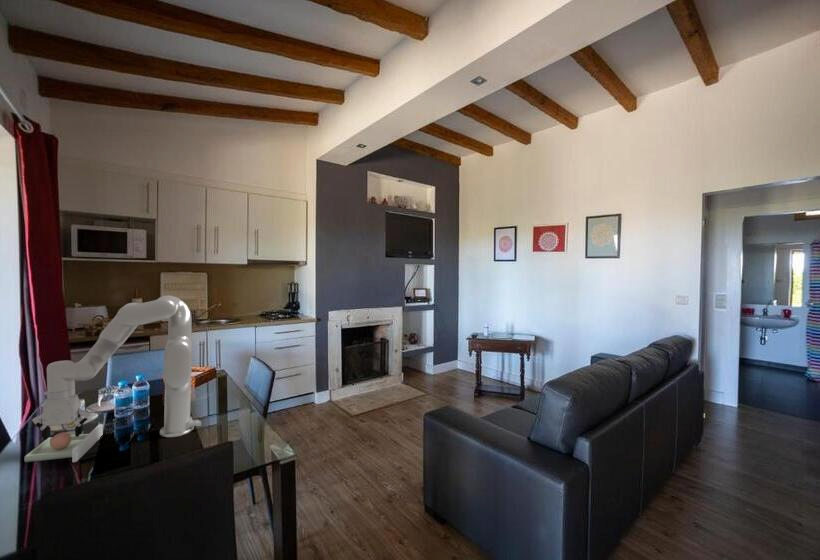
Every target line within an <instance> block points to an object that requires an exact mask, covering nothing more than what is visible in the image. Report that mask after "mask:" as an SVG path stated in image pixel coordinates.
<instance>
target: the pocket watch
mask: <svg viewBox="0 0 820 560" xmlns="http://www.w3.org/2000/svg"><path fill="white" fill-rule="evenodd" d="M80 418H81V419H82V420H83V419H84V417H83V416H81V417H80ZM60 426H61V428H62V429H63V430H64V431H65V432H66V433H69V434H70V435H75V427H76V426H77V425H75V424H74V423H71V424H63V425H60ZM82 434H84V430H83V432H82V433H81V434H80V435H82Z"/></svg>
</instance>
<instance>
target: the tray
mask: <svg viewBox="0 0 820 560" xmlns="http://www.w3.org/2000/svg"><path fill="white" fill-rule="evenodd" d="M88 434H89V433H83V434H82V435H79V436H78V437H76V436H75V435H71V437H72V440H71V442H70V444H69V445H68V446H66V447H65V448H62V449H54V448H52V447H51V446H50V441H51V439H52V437H53V436H52V437H51V436H50V437H49V438H48V439H47V440H43V441H42V442H41V443H40V444H39V445H37V446H36V447H35V448H33V449H32V450H30V452H28V453H27V454H25V456H24V463H30V462H40V461H49V460H57V459H66V458H67V459H69V458H72V449H73V448H74V447H75V446H76V445H77V444H78V443H79V442H81V441H82V440H83V439H84V438H85V437H86V436H87V435H88Z"/></svg>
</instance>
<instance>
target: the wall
mask: <svg viewBox="0 0 820 560" xmlns="http://www.w3.org/2000/svg"><path fill="white" fill-rule="evenodd" d="M103 427H104V425H103V423H99V424H97V426H96V427H94V429H92V430H91V431H90V432H89V433H87V434H88V435H87V436H86V437H85V438H84V439H83V440H82V441H81V442H79V443H78V444H77V445H76V446H75V447H74V448H73V449H72V457H71V458H72V459H71V461H72V463H77V462H78V461H79V460H80V459H81V458H82V457H83V456H84V455H86V453H87V452H88V451H89V450H90V449H91V448H92V447H93V446H94V445H95V444H96V443H97V442H98V441H99V440H100V439H101V438H102V437H103V436H104V435H103V434H104V433H103V432H104V429H103ZM102 435H103V436H102ZM101 436H102V437H101ZM100 437H101V438H100Z"/></svg>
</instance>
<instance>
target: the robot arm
mask: <svg viewBox="0 0 820 560" xmlns="http://www.w3.org/2000/svg"><path fill="white" fill-rule="evenodd" d="M163 320H168V327H167V329H168V333H167V343H166V345H165V348H164V352H163V353H164V354H163V371H162V372H163V377H162V379H163V383H164V411H163V412H164V414H163V415H164V416H163V417H164V418H163V419H164V420H163V423H164V424H163V425H164V426H163V427H161V428H160V430H159V435H160V436H161V437H164V438H176V437H181V436H183V435H187V434H189V433H191V432H192V431H193V430H194V428H195V427H200V426H201V425H202V421H201V420H200V419H193V416H191V397H192V393H191V392H192V391H191V390H192V387H191V386H192V352H193V342H192V333H193V331H192V324H193V323H192V321H193V320H192V313H191V311H190V307H188V305H187V304H186V302H184V301H183V300H181V299H180V298H179V297H176V296H173V295H168V294H167V295H162V296H160V297H158V298H157V299H155V300H151V301H145V302H141V303H138V302H129V303H126V304H124V306H122V307H121V308H119V309H118V311H117V313H116V315H115V316H114V318H112V319H111V320H110V322H109V323H108V324H107V325H106V327H105V328H104V329H102V331H101V332H100V334H99V337H98V338H97V340H96V342H95V344H94V345H93V346H92V347H91V348H90V350H89V351H88V352H87V353H86V354H85V356H83V358H82V359H80V360H79V361H77V362H74V361H72V360H69V359H67V360H58V361H54V362H51V363H48V365H47V366H46V384H47V387H46V389H47V391H44V392H43V393H42V395H43V396H46V398H45V399H44V401H43V406H42V410H41V411H42V412H41V414H40V415H38V416H36V417H33V418H32V422H33V424H35V427H36V428H39V430H40V431H41V437H42V440H43V441H45V440H47V439H48V438H49V437H51V436H52V434H51V427H52V426H61V425H63V424H66V425H67V424H70V425H71V423H74V424H75V425H77V426H76V427H75V436H76V437H78V436H79V435H80V434H81V433H82V432H83V431H84V423H85V422H86V421H88V420H89V418H90V416H91V415H92V412H91V411H88V410H83V409H81V403H80V399H79V396H78V394H76V381H88V380H92V379H93V378H95V376H97V374H98V373H99V372H100V371H101V369H102V368H103V367H104V366H105V364H107V362H108V361H109V359H110V358H111V357H112V356H113V355H114V354H115V353H116V351H117V350H118V349H119V348H120V347H122V346H123V345H124V344H125V342H126V341H127V340H128V338H129V337H130V336H131V334H133V333H134V331H135V330H136V328H137V327H138V326H141V325H146V324H151V323H154V322H160V321H163ZM82 416H84V417H83V420H82V419H81V418H80V417H82ZM50 426H51V427H50ZM83 433H84V432H83Z"/></svg>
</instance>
